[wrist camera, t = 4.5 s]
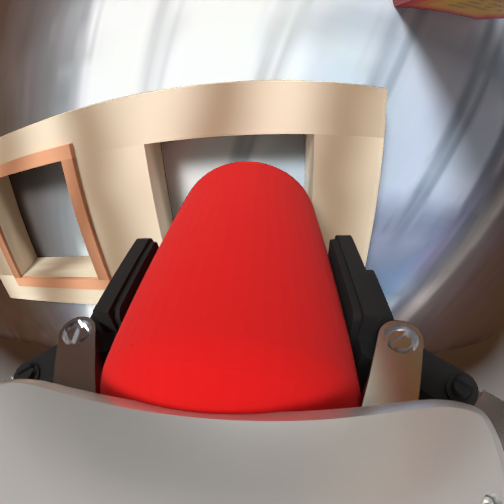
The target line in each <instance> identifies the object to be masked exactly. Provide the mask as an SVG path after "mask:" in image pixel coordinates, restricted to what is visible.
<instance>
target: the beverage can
mask: <svg viewBox="0 0 504 504" xmlns="http://www.w3.org/2000/svg"><path fill="white" fill-rule="evenodd" d="M100 394H103V395H108V396H113V397H118V398H123V399H129V400H135V401H138V402H142V403H146V404H150V405H154V406H158V407H163V408H168V409H174V410H180V411H188V412H197V413H210V414H260V413H274V412H288V411H314V410H329V409H341V408H353V407H360V402H361V392H360V386H359V381H358V376H357V371H356V366H355V361H354V357H353V352H352V348H351V343H350V339H349V334H348V330H347V326H346V322H345V318H344V314H343V310H342V306H341V302H340V298H339V294H338V290H337V286H336V282H335V279H334V275H333V271H332V268H331V264H330V261H329V257H328V254H327V250H326V247H325V243H324V240H323V236H322V233H321V230H320V227H319V223H318V220H317V217H316V214H315V210H314V207H313V204H312V202H311V200H310V198H309V196H308V194H307V193H306V191H305V190H304V188H303V187H302V186H301V185H300V184H299V183H298V182H297V181H296V180H295V179H294V178H293V177H292V176H290V175H289V174H287V173H286V172H284V171H282V170H280V169H278V168H276V167H274V166H271V165H268V164H264V163H259V162H235V163H230V164H226V165H223V166H220V167H218V168H216V169H214V170H212V171H210V172H209V173H207V174H206V175H205V176H203V177H202V178H201V179H200V180H199V181H198V182H197V183H196V184H195V185H194V186H193V188H192V189H191V191H190V192H189V194H188V196H187V198H186V199H185V201H184V203H183V204H182V206H181V208H180V210H179V212H178V213H177V215H176V217H175V219H174V220H173V222H172V224H171V226H170V228H169V230H168V231H167V233H166V235H165V237H164V239H163V241H162V243H161V244H160V246H159V248H158V250H157V252H156V254H155V256H154V258H153V260H152V262H151V264H150V266H149V268H148V269H147V271H146V273H145V275H144V277H143V279H142V281H141V284H140V286H139V288H138V290H137V292H136V294H135V296H134V298H133V300H132V302H131V304H130V306H129V309H128V311H127V313H126V315H125V317H124V319H123V322H122V324H121V326H120V328H119V330H118V333H117V335H116V337H115V340H114V342H113V344H112V346H111V349H110V351H109V353H108V356H107V358H106V361H105V363H104V366H103V371H102V375H101V382H100Z"/></svg>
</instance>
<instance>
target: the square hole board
mask: <svg viewBox="0 0 504 504" xmlns="http://www.w3.org/2000/svg"><path fill="white" fill-rule="evenodd" d="M386 103H387V89H386V88H381V87H375V86H369V85H360V84H351V83H340V82H325V81H304V80H258V81H236V82H222V83H210V84H200V85H192V86H184V87H176V88H170V89H163V90H157V91H151V92H146V93H141V94H136V95H131V96H126V97H121V98H117V99H113V100H108V101H104V102H100V103H97V104H93V105H89V106H86V107H82V108H79V109H75V110H72V111H69V112H65V113H62V114H59V115H56V116H53V117H50V118H47V119H44V120H42V121H39V122H36V123H33V124H31V125H28V126H26V127H23V128H21V129H18V130H16V131H13V132H11V133H9V134H6V135H4V136H2V137H0V278H1V280H2V282H3V284H4V286H5V288H6V290H7V292H8V293H9V295H10V297H11V298H19V299H29V300H40V301H52V302H65V303H80V304H97V303H98V301H99V299H100V298H101V296H102V294H103V292H104V291H105V289H106V287H107V286H108V284H109V282H110V281H111V279H112V277H113V276H114V274H115V272H116V271H117V269H118V267H119V266H120V264H121V263H122V261H123V259H124V258H125V256H126V255H127V253H128V251H129V250H130V248H131V247H132V245H133V244H134V242H135V241H136V239H138V238H152V239H153V241H154V242H157V243H158V246H160V244H161V243H162V241H163V239H164V237H165V235H166V233H167V231H168V230H169V228H170V226H171V224H172V222H173V217H172V212H171V206H170V201H169V195H168V189H167V183H166V177H165V170H164V164H163V157H162V150H161V143H160V142H165V141H173V140H183V139H193V138H204V137H217V136H233V135H255V134H306V157H305V191H306V193H307V194H308V196H309V198H310V200H311V202H312V204H313V207H314V210H315V214H316V217H317V220H318V223H319V227H320V230H321V233H322V236H323V240H324V243H325V247H326V250H327V254H328V250H329V242H330V239H335V236H336V235H351V236H352V238H353V240H354V243H355V245H356V247H357V250H358V252H359V254H360V257H361V259H362V261H363V264H364V266H365V264H366V259H367V254H368V249H369V244H370V239H371V233H372V227H373V222H374V216H375V209H376V203H377V196H378V189H379V181H380V173H381V165H382V155H383V145H384V134H385V120H386ZM59 161H61V163H62V167H63V171H64V175H65V179H66V183H67V187H68V191H69V194H70V198H71V201H72V205H73V208H74V211H75V215H76V218H77V221H78V224H79V227H80V230H81V233H82V236H83V239H84V242H85V245H86V248H87V250H88V253H89V256H74V257H37V255H36V253H35V250H34V248H33V245H32V243H31V241H30V238H29V235H28V233H27V230H26V228H25V225H24V222H23V220H22V217H21V214H20V211H19V208H18V205H17V202H16V199H15V196H14V193H13V189H12V186H11V182H10V179H9V175H10V174H14V173H17V172H21V171H24V170H28V169H31V168H35V167H39V166H43V165H46V164H50V163H55V162H59Z"/></svg>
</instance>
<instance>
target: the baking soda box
mask: <svg viewBox="0 0 504 504" xmlns="http://www.w3.org/2000/svg"><path fill="white" fill-rule="evenodd" d="M393 3H394V6H396V7H408V8H418V9H426V10H433V11H440V12H445V13H451V14H456V15H461V16H466V17H470V18H475V19H495V18H504V0H393Z"/></svg>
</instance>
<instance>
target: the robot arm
mask: <svg viewBox="0 0 504 504" xmlns="http://www.w3.org/2000/svg"><path fill="white" fill-rule="evenodd" d="M158 248H159V246H158V243H157V242H154V241H153V239H152V238H138V239H136V241H135V242H134V244H133V245H132V247H131V248H130V250H129V251H128V253H127V255H126V256H125V258H124V259H123V261H122V263H121V264H120V266H119V267H118V269H117V271H116V272H115V274H114V276H113V277H112V279H111V281H110V282H109V284H108V286H107V287H106V289H105V291H104V292H103V294H102V296H101V298H100V299H99V301H98V303H97V305H96V306H95V308H94V310H93V314H92V316H91V317H90V318H89V317H77V318H74V319H72V320H70V321H69V322H67V323H66V324H65V325H64V326H63V327H62V329H61V330H60V333H59V336H58V343H57V345H55V346H54V347H52V348H50V349H48V350H46V351H44V352H43V353H41V354H39V355H37V356H35V357H33V358H32V359H30V360H28V361H26V362H25V363H23V364H22V365H20V367H19V368H18V369H17V370H16V373H15V374H14V378H12V377H9V378H7V379H6V380H3V381H2V382H0V504H504V401H502V400H500V399H498V398H497V397H495V396H494V395H492V394H490V393H488V392H487V391H485V390H483V392H479V391H478V386H477V384H476V382H475V381H474V379H473V378H472V377H471V376H470V375H468V374H467V373H465V372H464V371H462V370H460V369H458V368H457V367H455V366H453V365H451V364H450V363H448V362H446V361H444V360H442V359H441V358H439V357H437V356H435V355H434V354H432V353H430V352H429V351H427V350H425V349H423V337H422V335H421V333H420V331H419V330H418V329H417V328H416V327H415V326H413V325H412V324H410V323H408V322H405V321H400V320H394V319H393V316H392V314H391V311H390V308H389V306H388V303H387V301H386V298H385V296H384V294H383V291H382V289H381V286H380V284H379V282H378V279H377V277H376V275H375V273H374V271H373V270H366V269H365V266H364V264H363V261H362V259H361V257H360V254H359V252H358V250H357V247H356V245H355V243H354V240H353V238H352V236H351V235H336V236H335V239H330V242H329V250H328V257H329V261H330V264H331V268H332V271H333V275H334V279H335V282H336V286H337V290H338V294H339V298H340V302H341V306H342V310H343V314H344V318H345V322H346V326H347V330H348V334H349V339H350V343H351V348H352V352H353V357H354V361H355V366H356V371H357V376H358V381H359V386H360V392H361V402H360V407H353V408H341V409H329V410H314V411H288V412H274V413H260V414H210V413H197V412H188V411H180V410H174V409H168V408H163V407H158V406H154V405H150V404H146V403H142V402H138V401H135V400H129V399H123V398H118V397H113V396H108V395H103V394H100V382H101V375H102V371H103V366H104V363H105V361H106V358H107V356H108V353H109V351H110V349H111V346H112V344H113V342H114V340H115V337H116V335H117V333H118V330H119V328H120V326H121V324H122V322H123V319H124V317H125V315H126V313H127V311H128V309H129V306H130V304H131V302H132V300H133V298H134V296H135V294H136V292H137V290H138V288H139V286H140V284H141V281H142V279H143V277H144V275H145V273H146V271H147V269H148V268H149V266H150V264H151V262H152V260H153V258H154V256H155V254H156V252H157V250H158Z"/></svg>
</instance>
